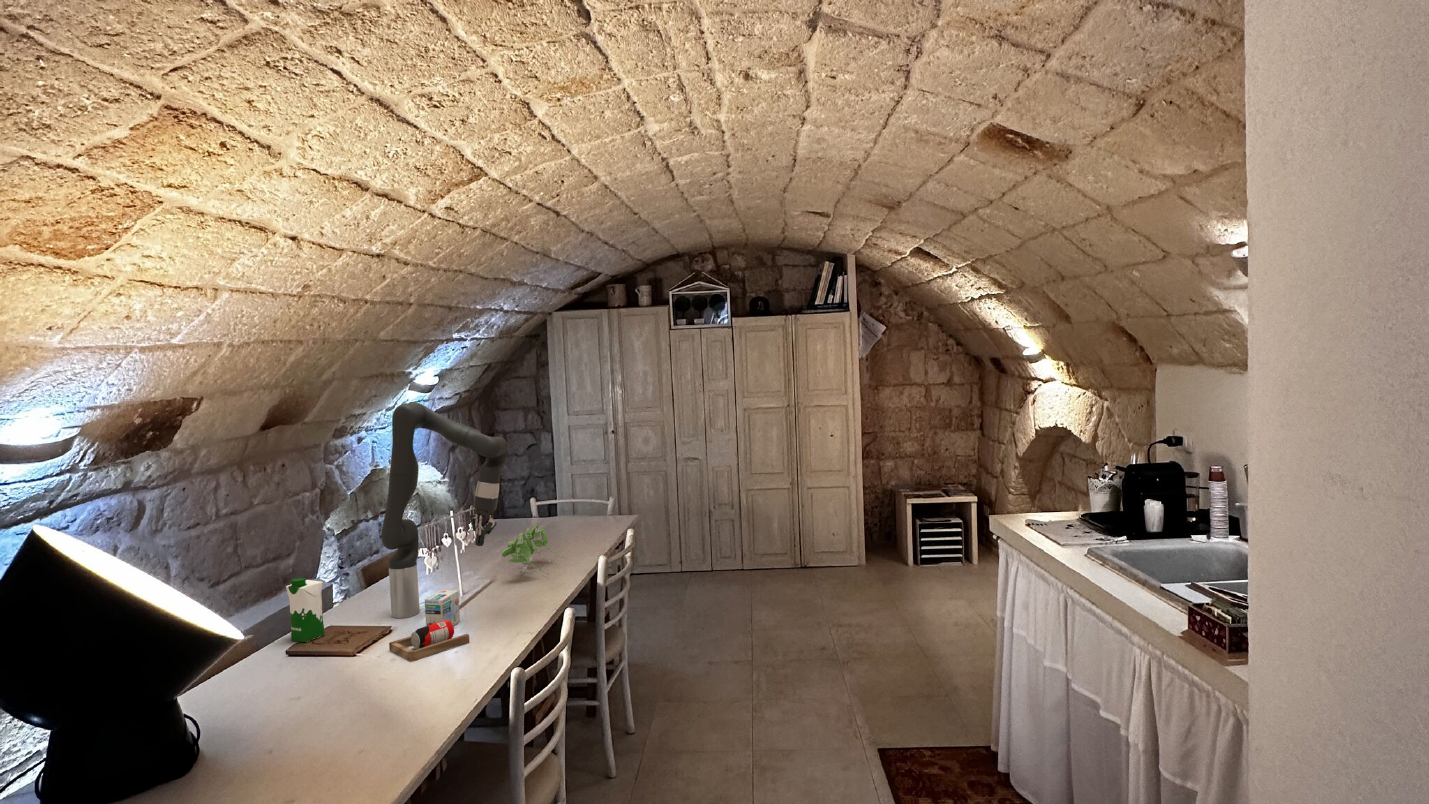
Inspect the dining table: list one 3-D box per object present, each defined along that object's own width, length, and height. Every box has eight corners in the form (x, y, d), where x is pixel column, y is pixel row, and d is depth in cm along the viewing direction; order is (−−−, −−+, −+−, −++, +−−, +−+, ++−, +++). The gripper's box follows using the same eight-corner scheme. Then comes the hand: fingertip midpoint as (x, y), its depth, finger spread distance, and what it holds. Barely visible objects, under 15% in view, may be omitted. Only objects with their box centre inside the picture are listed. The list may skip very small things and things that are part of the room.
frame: (389, 650, 235) (389, 642, 235) (447, 632, 249) (446, 625, 249) (410, 661, 226) (410, 653, 226) (469, 642, 240) (469, 634, 240)
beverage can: (446, 615, 244) (411, 626, 235) (457, 626, 241) (421, 638, 232) (443, 630, 247) (408, 642, 237) (453, 642, 243) (418, 655, 234)
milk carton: (286, 641, 247) (282, 580, 246) (311, 631, 255) (307, 572, 254) (305, 644, 243) (300, 582, 242) (329, 634, 251) (326, 574, 250)
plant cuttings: (555, 577, 334) (514, 547, 334) (577, 546, 332) (536, 516, 333) (530, 603, 299) (484, 570, 300) (554, 568, 297) (508, 535, 298)
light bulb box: (444, 632, 250) (442, 600, 249) (425, 631, 251) (423, 599, 251) (461, 621, 260) (459, 590, 260) (443, 620, 262) (441, 589, 261)
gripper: (466, 491, 260) (458, 541, 261) (488, 499, 252) (480, 551, 252) (485, 491, 266) (477, 540, 266) (507, 499, 258) (499, 549, 258)
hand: (479, 545), depth 259 cm, fingers closed
